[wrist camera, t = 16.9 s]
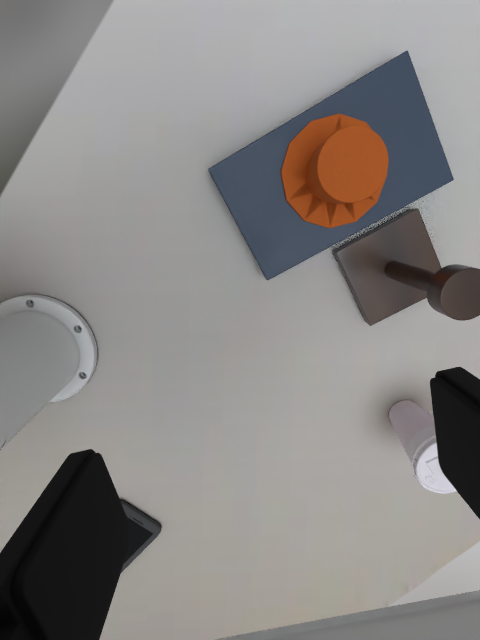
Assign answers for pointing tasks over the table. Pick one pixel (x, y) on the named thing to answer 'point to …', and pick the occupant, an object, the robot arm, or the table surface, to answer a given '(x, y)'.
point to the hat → (334, 170)
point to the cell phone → (139, 532)
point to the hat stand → (405, 272)
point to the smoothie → (420, 444)
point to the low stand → (270, 150)
